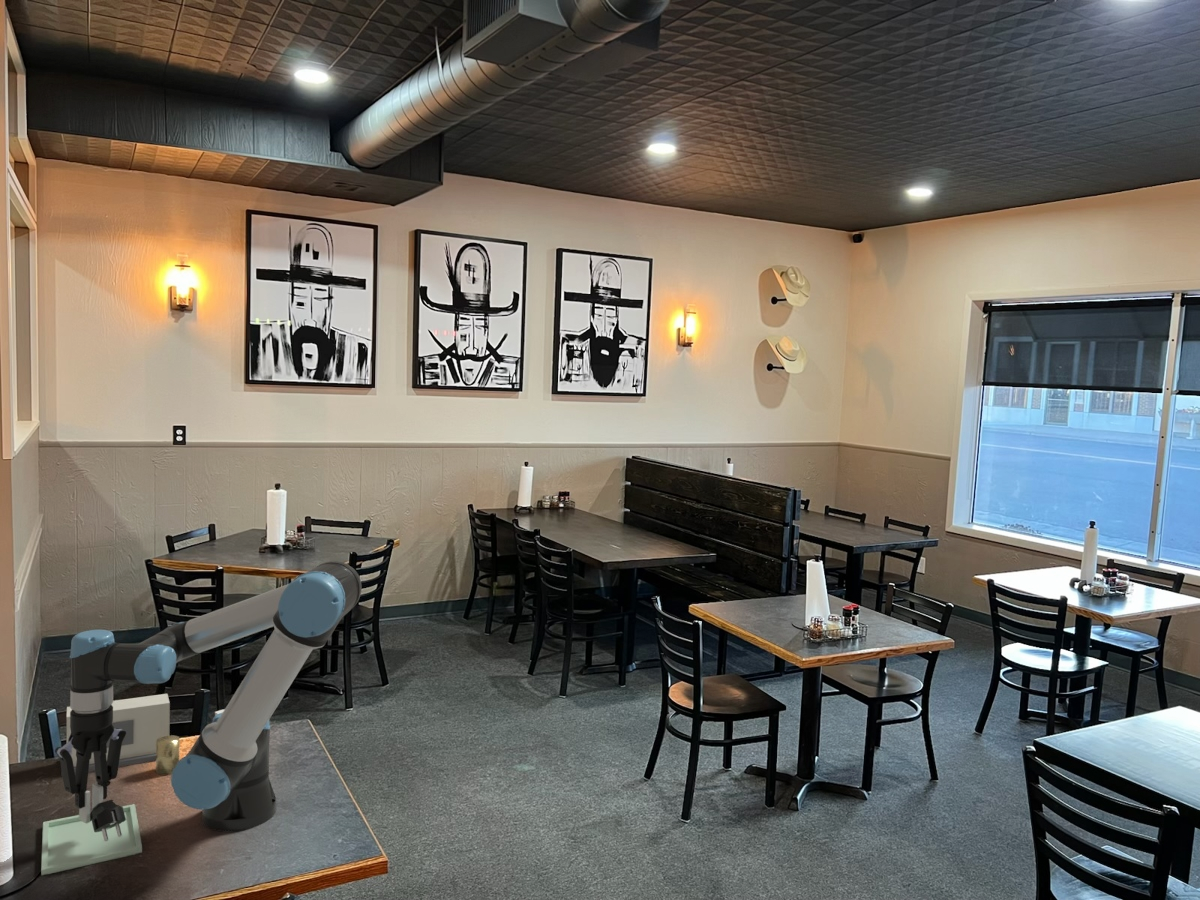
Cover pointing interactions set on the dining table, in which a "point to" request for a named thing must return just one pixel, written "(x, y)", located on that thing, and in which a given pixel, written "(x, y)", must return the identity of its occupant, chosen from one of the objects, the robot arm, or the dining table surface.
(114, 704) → the box
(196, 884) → the dining table surface
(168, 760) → the cylinder
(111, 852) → the tray
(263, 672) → the robot arm
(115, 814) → the power plug
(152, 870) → the dining table surface
